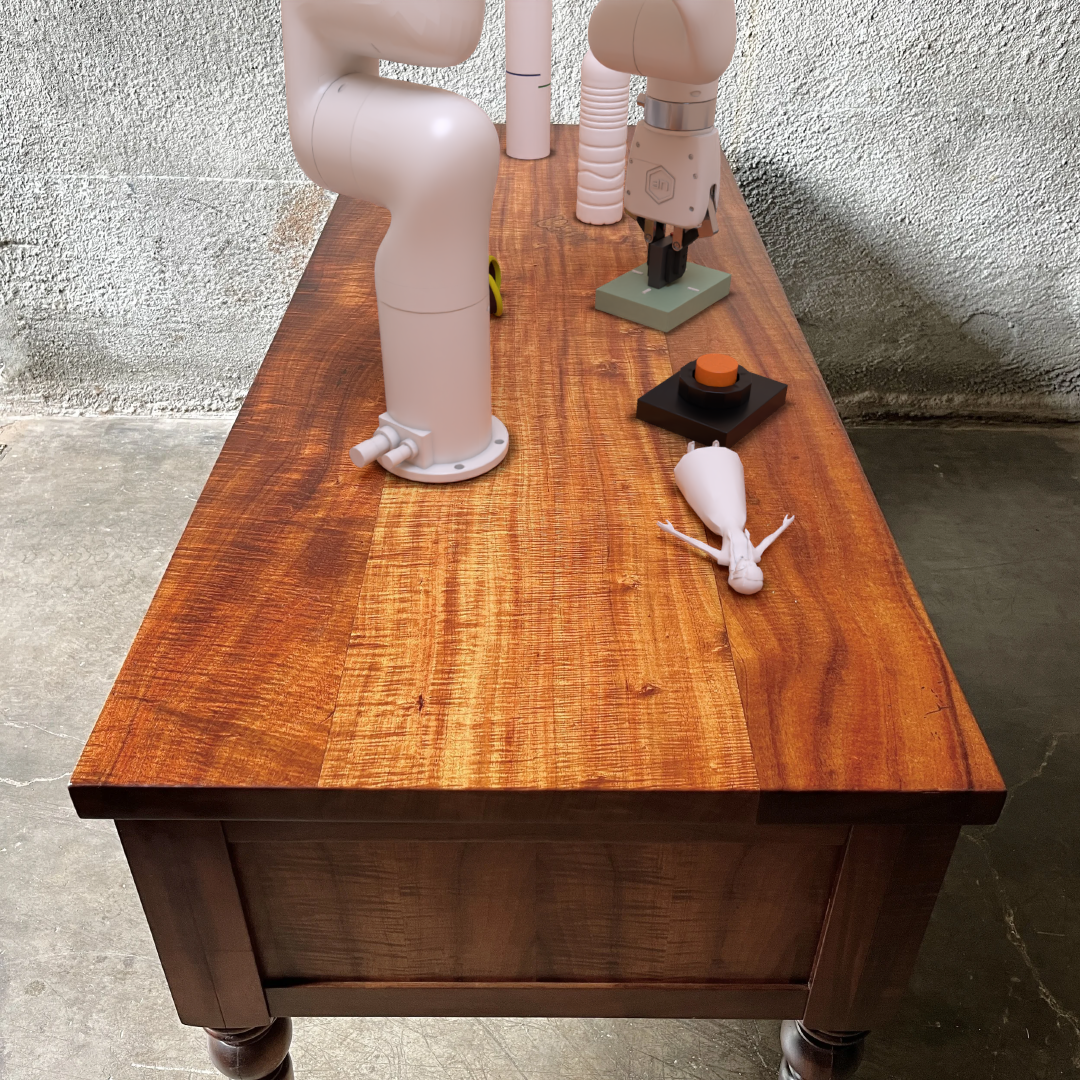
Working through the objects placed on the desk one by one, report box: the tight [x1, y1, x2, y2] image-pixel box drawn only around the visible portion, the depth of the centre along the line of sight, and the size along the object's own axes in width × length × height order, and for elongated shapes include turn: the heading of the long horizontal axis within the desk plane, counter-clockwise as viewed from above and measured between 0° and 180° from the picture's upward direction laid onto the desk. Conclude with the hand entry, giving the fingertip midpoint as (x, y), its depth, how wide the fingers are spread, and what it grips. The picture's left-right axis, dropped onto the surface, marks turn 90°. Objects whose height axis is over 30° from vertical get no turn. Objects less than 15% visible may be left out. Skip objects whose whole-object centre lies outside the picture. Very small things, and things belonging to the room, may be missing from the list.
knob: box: [648, 231, 673, 289], centre depth 121 cm, size 5×2×5 cm, turn 142°
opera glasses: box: [489, 254, 504, 317], centre depth 121 cm, size 10×5×5 cm, turn 3°
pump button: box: [695, 352, 739, 387], centre depth 100 cm, size 4×4×2 cm
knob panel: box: [594, 260, 733, 333], centre depth 123 cm, size 14×10×3 cm
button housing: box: [635, 357, 789, 450], centre depth 102 cm, size 12×10×4 cm
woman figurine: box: [656, 440, 795, 595], centre depth 86 cm, size 12×4×18 cm
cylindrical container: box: [504, 0, 553, 160], centre depth 162 cm, size 7×7×25 cm
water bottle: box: [575, 47, 632, 226], centre depth 139 cm, size 9×6×25 cm
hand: (665, 275), depth 122 cm, fingers closed on knob
